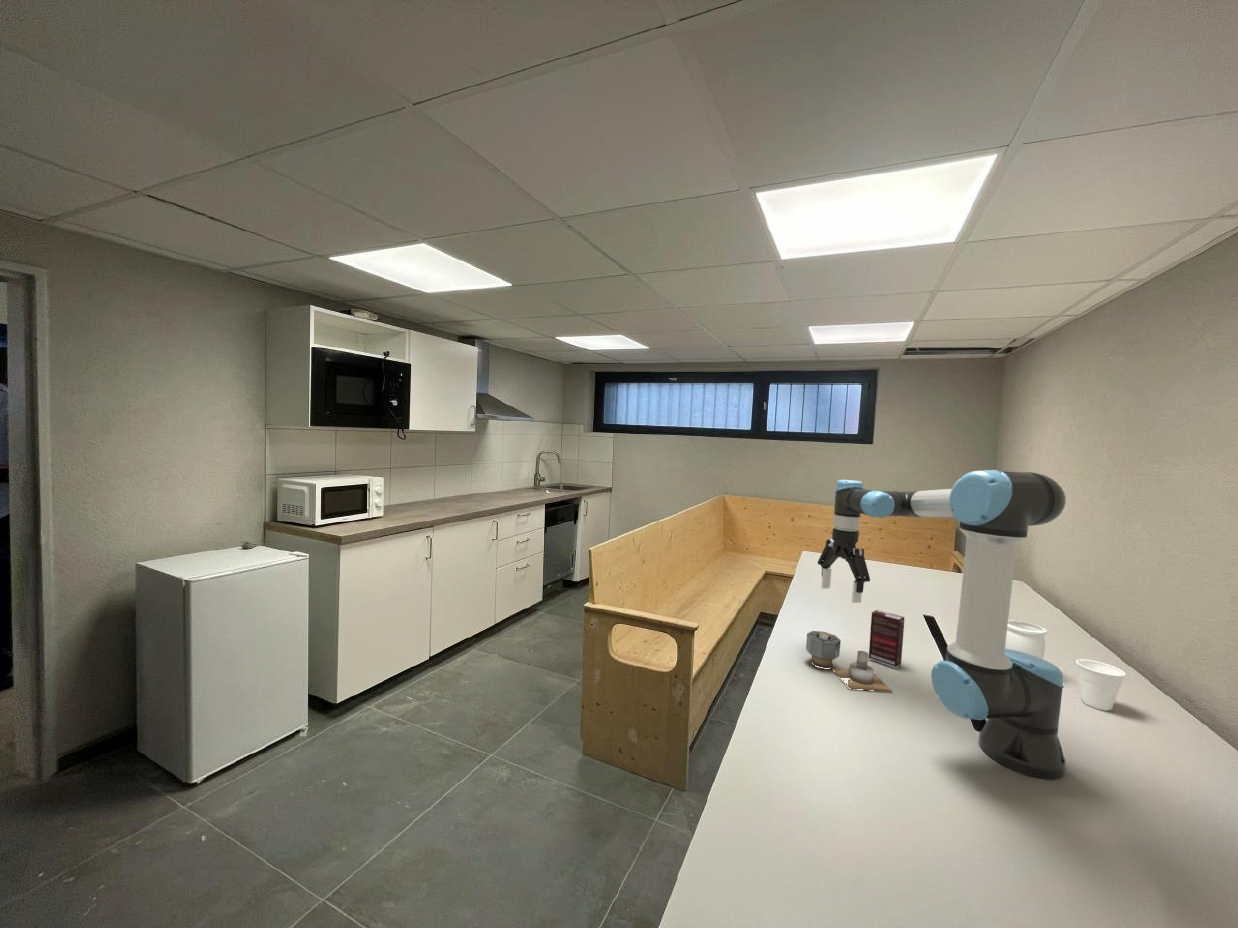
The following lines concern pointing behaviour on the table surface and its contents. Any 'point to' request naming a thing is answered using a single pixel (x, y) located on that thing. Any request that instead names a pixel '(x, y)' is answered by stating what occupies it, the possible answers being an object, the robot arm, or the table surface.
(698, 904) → the table surface
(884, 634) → the supplement box
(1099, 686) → the cup
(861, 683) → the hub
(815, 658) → the stand
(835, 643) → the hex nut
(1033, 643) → the jar
